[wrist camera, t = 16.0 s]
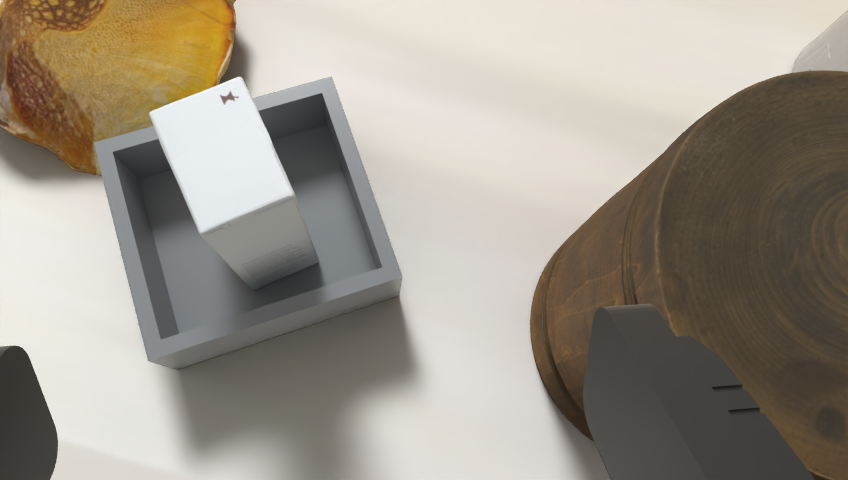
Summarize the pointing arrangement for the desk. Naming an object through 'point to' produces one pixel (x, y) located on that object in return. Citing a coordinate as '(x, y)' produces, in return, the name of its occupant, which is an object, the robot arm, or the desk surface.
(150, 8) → the seashell
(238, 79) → the skincare box
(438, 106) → the desk surface
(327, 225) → the box
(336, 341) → the desk surface
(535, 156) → the desk surface
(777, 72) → the desk surface
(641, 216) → the wooden container
